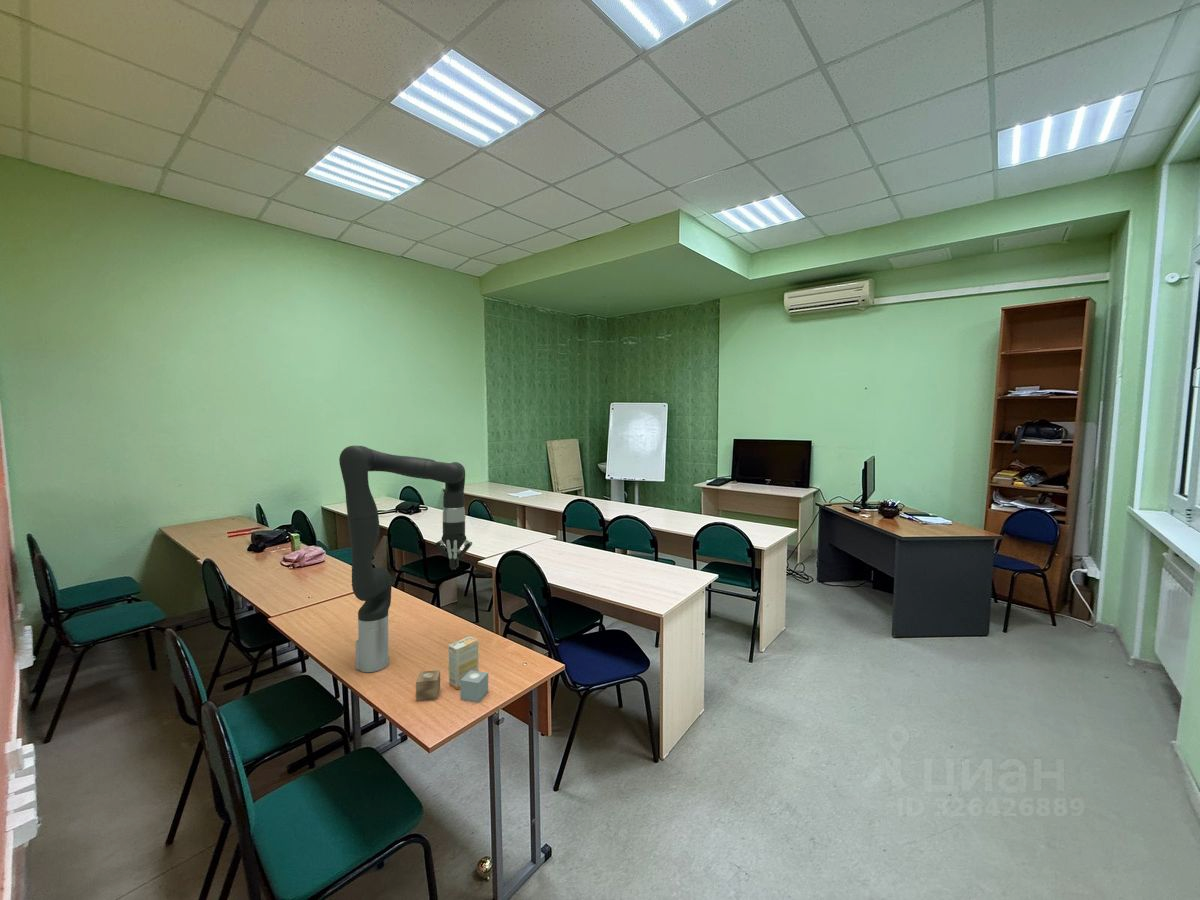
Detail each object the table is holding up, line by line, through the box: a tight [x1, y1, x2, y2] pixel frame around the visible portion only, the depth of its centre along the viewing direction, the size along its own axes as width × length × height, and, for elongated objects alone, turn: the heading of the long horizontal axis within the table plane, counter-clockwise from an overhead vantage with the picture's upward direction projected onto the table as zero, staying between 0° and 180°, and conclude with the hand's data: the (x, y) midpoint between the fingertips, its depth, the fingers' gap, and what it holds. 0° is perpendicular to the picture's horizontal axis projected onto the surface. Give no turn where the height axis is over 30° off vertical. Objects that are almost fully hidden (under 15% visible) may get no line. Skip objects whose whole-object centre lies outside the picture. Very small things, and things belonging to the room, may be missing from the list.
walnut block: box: [415, 669, 441, 702], centre depth 142 cm, size 6×6×6 cm
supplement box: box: [447, 635, 479, 690], centre depth 149 cm, size 8×5×13 cm, turn 141°
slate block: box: [459, 670, 489, 703], centre depth 142 cm, size 6×6×6 cm
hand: (454, 568), depth 164 cm, fingers closed
